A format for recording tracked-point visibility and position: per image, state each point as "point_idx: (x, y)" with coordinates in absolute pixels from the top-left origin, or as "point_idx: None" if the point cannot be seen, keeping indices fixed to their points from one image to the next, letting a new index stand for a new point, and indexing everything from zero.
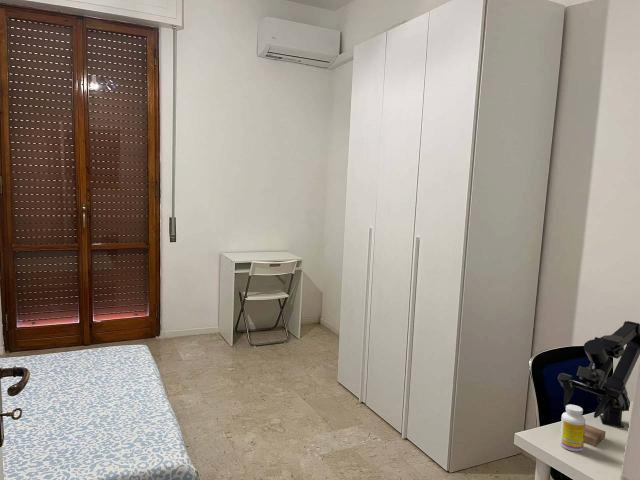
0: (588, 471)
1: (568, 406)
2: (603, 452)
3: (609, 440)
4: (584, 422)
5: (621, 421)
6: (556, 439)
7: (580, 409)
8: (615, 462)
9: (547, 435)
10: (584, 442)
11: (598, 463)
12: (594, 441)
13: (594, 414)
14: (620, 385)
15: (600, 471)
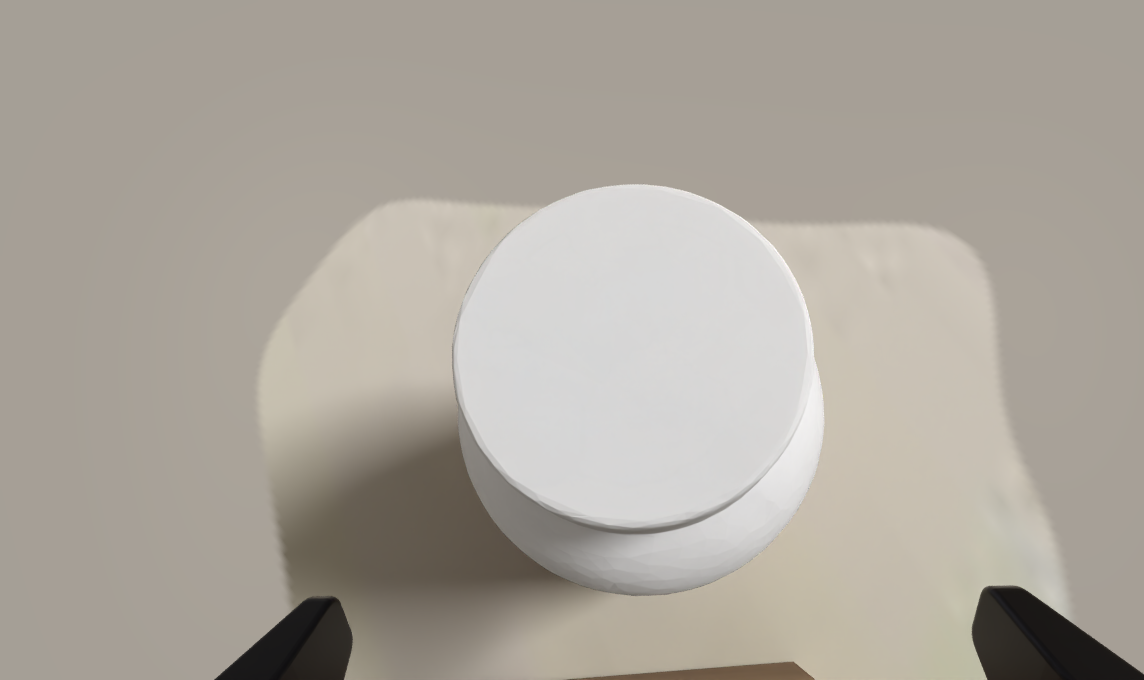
0: (385, 230)
1: (738, 278)
2: (415, 647)
3: None
4: (458, 413)
5: None
6: None
7: (501, 380)
8: (290, 551)
9: (898, 470)
10: (610, 677)
11: (377, 401)
12: None
13: (309, 623)
14: None
15: (330, 304)
